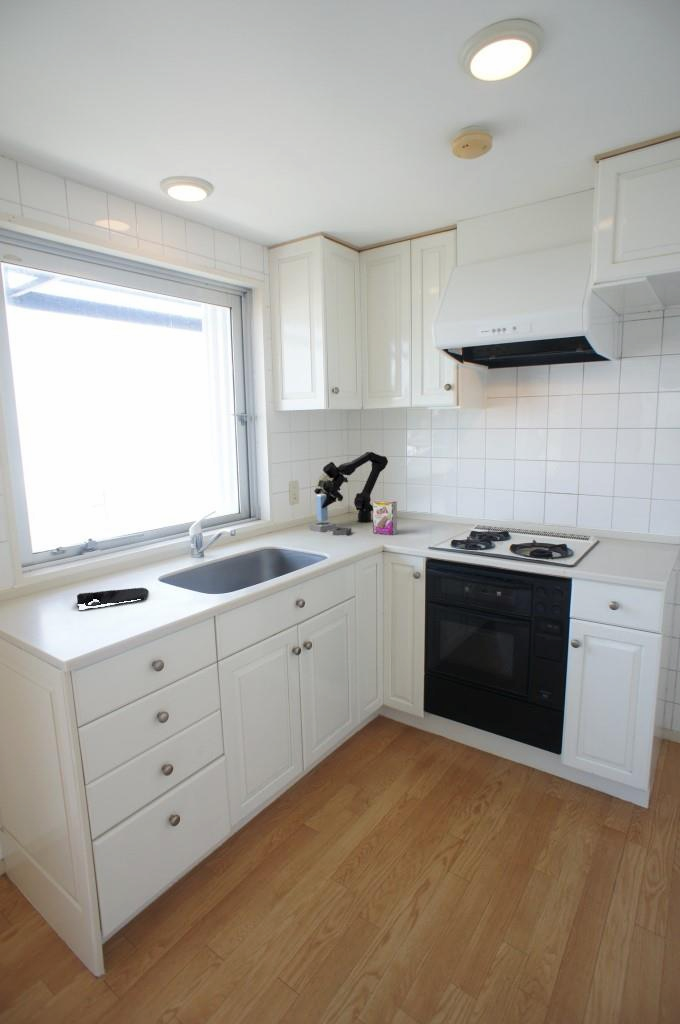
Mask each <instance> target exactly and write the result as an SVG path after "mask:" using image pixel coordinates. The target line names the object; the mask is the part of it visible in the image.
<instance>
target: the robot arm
mask: <svg viewBox="0 0 680 1024" xmlns="http://www.w3.org/2000/svg"><path fill="white" fill-rule="evenodd" d="M368 462H370V463H371V470H370V472H369V475H368V477H367V479H366V482H365V485H364V487H363V489H362V491H361V492H360V493H359V492H357V493H356V494H355V497H354V499H353V500H354V502H353V504H354V507H355V508H356V511H358V513H357V520H356V521H357V522H358V521H360V522H359V523H362V522H365V523H369V521H372V522H373V519H372V512H373V504H371V494H372V492H373V490H374V487H375V485H376V484H377V483H376V482H377V480H378V478H379V476H380V474H381V472H383V470H385V468H386V467H387V465H388V463H389V459H388V457H387V456H385V455H379V454H377V453H375V452H373V451H367V452H364V454H362V455H359V456H358V457H357V458H355V459H353V460H352V461H348V462H343V463H341V464H339V465H338V466H336V464H335V463H334V462H332V461H330V462H329V463H328V464H326V465H324V467H323V468H322V471H323V472H324V474H325V475H326V476H327V477H328V478H329V479H327V480H322V479H319V482H318V484H317V486H318V487H315V489H314V493H315V494H316V495H317V494H326V496H327V498H326V500H325V502H324V503H323V505H322V508H325V507H326V506H327V507H328V506H330V505H331V504H333V503H335V502H337V501H338V502H342V501H343V499H344V495H342V494H341V492H340V491H341V486H342V485H343V484H344V483H348V482H349V479H348V476H351V475H352V474H353V473H355V472H356V470H357V469H358V468H359V467H361V466H362V465H363V466H364V464H367V463H368ZM346 476H347V477H346ZM330 479H331V480H330ZM319 487H321V488H319Z"/></svg>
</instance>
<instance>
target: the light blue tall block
mask: <svg viewBox="0 0 680 1024" xmlns="http://www.w3.org/2000/svg"><path fill="white" fill-rule="evenodd" d="M326 498H327V496H326V494H316V495H315V500H316V501H315V504H316V519H317V522H323V521H325V522H328V520H329V518H328V515H329V514H328V506H326V507H325V508H322V505H323V503H324V502H325V500H326Z"/></svg>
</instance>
